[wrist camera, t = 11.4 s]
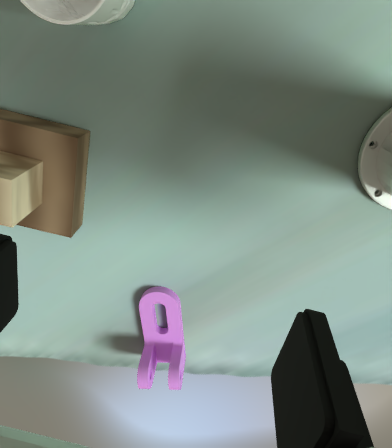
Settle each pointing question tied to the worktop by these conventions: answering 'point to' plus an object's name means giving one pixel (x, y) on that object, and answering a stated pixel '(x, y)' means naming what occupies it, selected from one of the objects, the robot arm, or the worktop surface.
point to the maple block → (19, 187)
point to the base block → (51, 168)
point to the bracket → (161, 338)
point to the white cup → (80, 10)
